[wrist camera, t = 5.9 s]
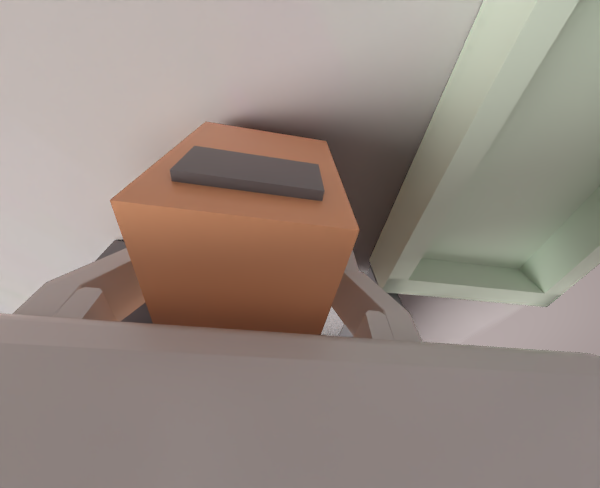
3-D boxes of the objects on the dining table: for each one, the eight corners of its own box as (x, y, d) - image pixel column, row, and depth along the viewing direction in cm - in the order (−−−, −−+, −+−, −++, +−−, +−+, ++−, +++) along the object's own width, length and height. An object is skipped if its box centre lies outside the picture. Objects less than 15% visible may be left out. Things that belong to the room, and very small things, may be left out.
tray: (534, -116, 6) (638, -187, 4) (810, -28, 7) (985, -54, 6) (369, 259, 14) (380, 291, 12) (515, 275, 15) (546, 307, 13)
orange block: (205, 114, 9) (105, 187, 4) (327, 134, 9) (363, 219, 5) (216, 275, 14) (176, 392, 9) (295, 282, 14) (297, 396, 10)
